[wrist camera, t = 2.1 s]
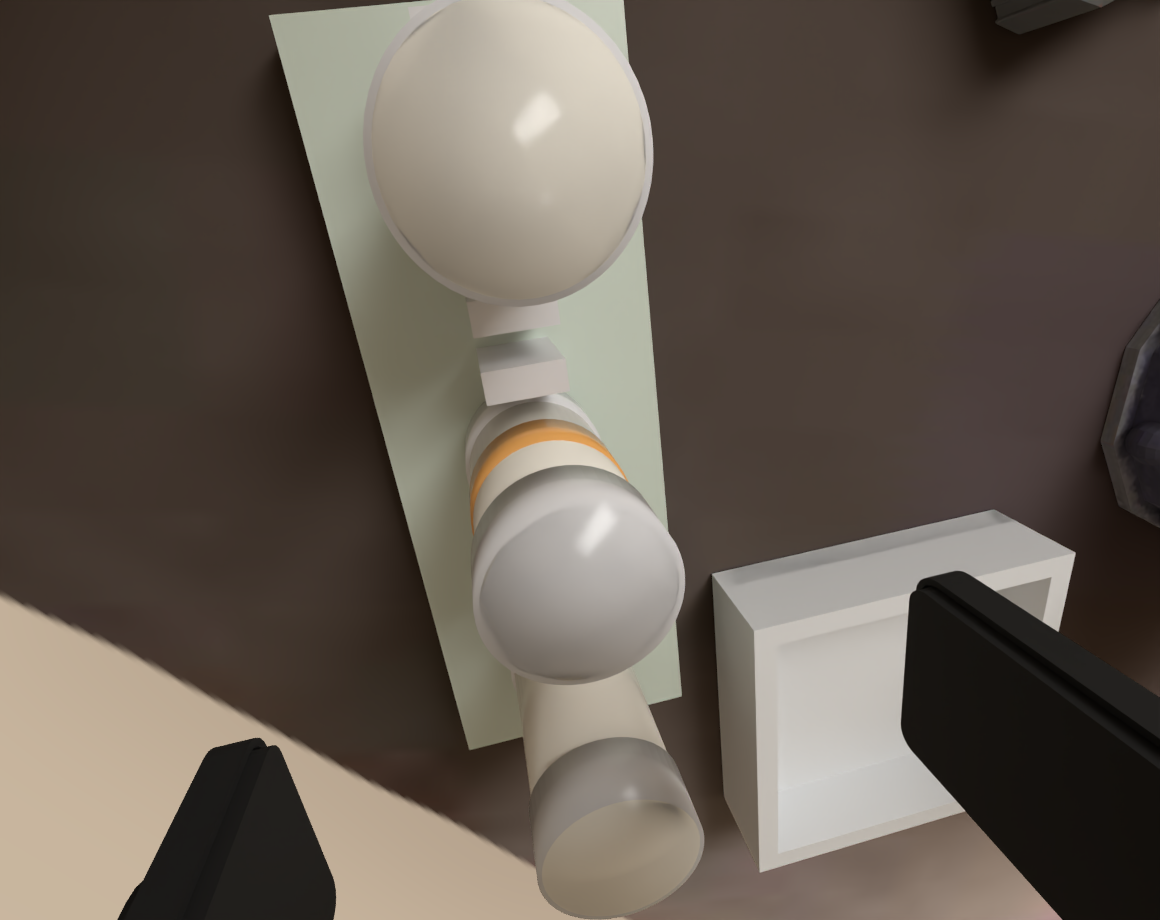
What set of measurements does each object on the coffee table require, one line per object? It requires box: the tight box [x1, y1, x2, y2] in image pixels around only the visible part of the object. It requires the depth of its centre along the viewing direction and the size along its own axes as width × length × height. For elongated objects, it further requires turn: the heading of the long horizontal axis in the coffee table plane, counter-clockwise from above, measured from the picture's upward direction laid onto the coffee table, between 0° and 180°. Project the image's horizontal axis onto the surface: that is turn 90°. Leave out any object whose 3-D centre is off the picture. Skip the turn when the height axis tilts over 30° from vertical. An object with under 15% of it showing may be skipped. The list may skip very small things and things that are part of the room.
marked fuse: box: [465, 392, 685, 685], centre depth 14 cm, size 4×4×8 cm
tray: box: [712, 510, 1076, 872], centre depth 24 cm, size 12×12×4 cm
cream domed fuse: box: [363, 0, 653, 307], centre depth 12 cm, size 4×4×8 cm
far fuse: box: [511, 667, 704, 919], centre depth 17 cm, size 4×4×8 cm
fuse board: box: [269, 0, 682, 750], centre depth 17 cm, size 22×8×4 cm, turn 7°
